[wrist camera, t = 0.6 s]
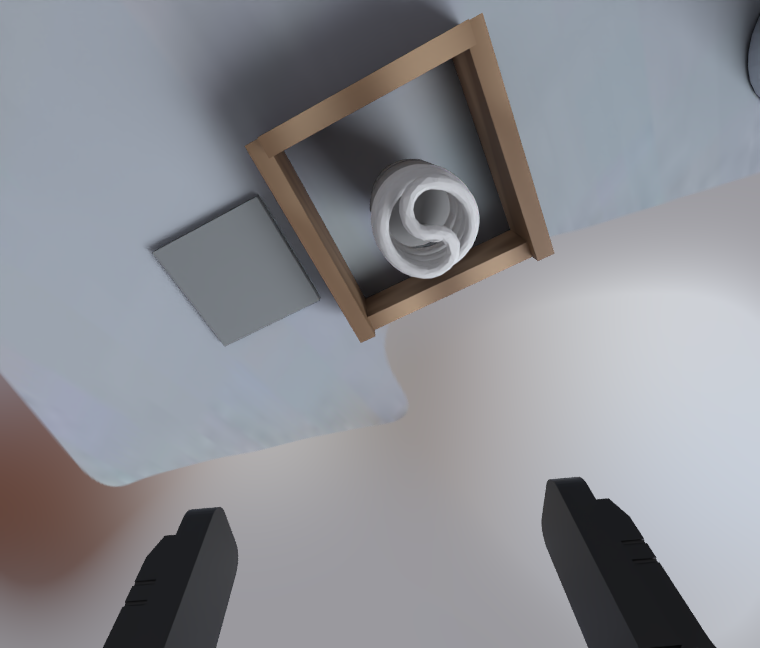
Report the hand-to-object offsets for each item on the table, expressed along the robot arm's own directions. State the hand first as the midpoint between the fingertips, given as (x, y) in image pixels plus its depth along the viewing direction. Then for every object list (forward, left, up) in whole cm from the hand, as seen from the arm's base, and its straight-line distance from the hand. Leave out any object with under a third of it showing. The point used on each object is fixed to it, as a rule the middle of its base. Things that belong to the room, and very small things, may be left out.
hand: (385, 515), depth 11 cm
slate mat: (+9, -2, -25) cm, 26 cm away
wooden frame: (-5, -2, -25) cm, 25 cm away
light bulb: (-5, -2, -25) cm, 25 cm away
